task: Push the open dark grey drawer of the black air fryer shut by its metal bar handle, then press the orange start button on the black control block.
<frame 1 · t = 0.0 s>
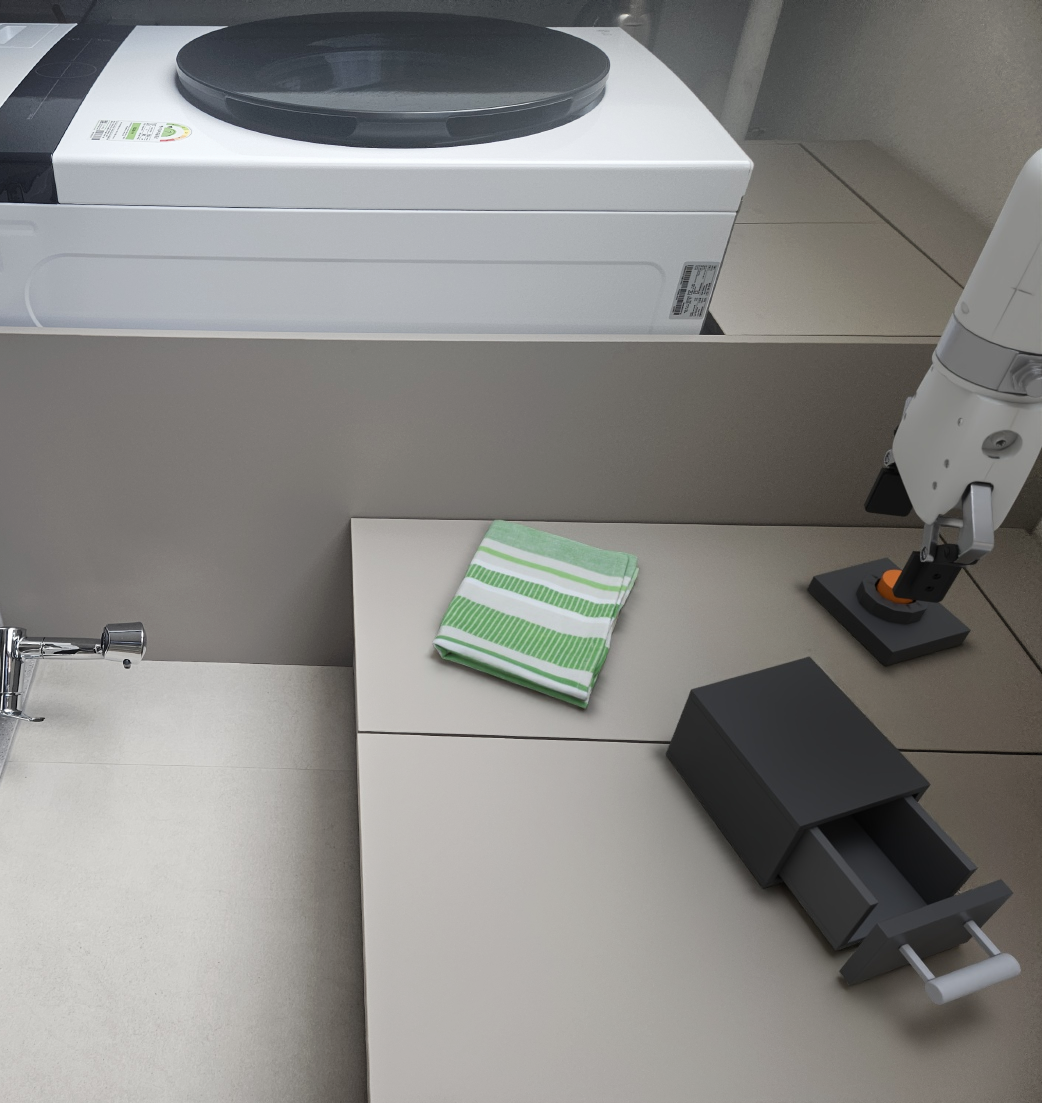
hand: (899, 552, 72), 27 cm above the worktop, tool pointing down, fingers open, 9 cm apart
dark grey drawer: (885, 886, 76), point 5 cm above the worktop, slide at 8.0 cm
air fryer: (770, 798, 88), on the worktop
control block: (882, 616, 105), on the worktop
start button: (898, 586, 102), point 4 cm above the worktop, slide at 0.1 cm
dish towel: (535, 613, 106), on the worktop
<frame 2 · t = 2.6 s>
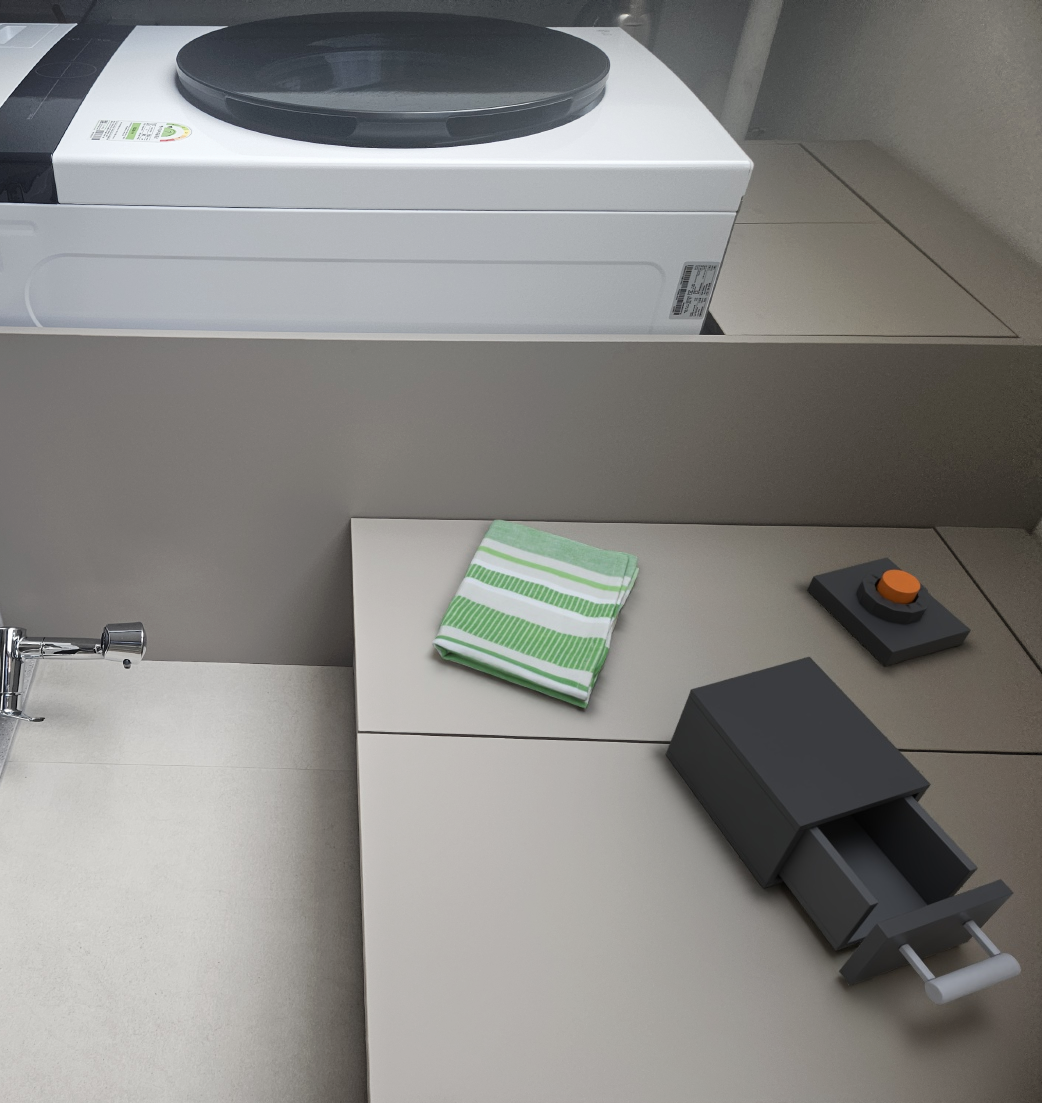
nothing on the worktop moved.
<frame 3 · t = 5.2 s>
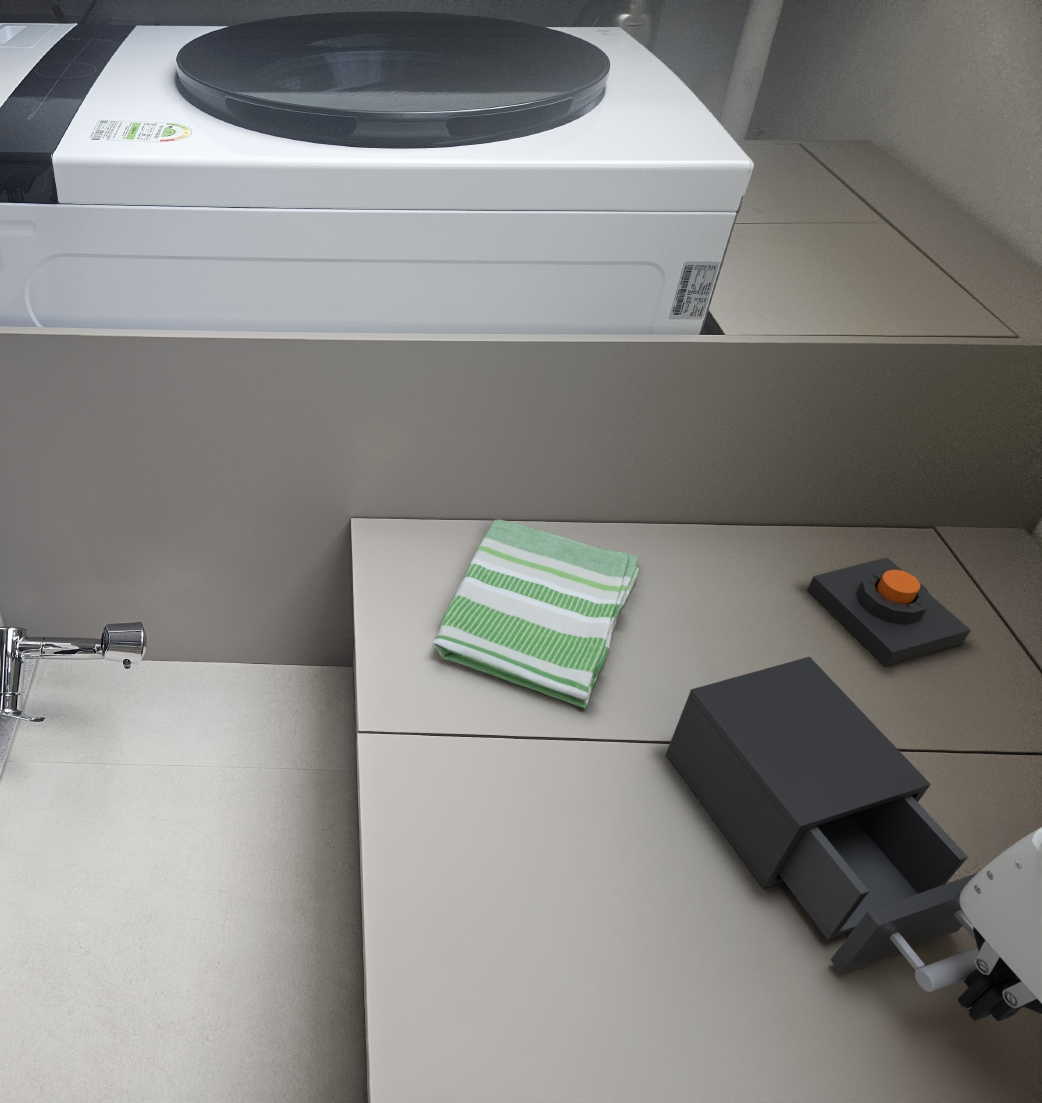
hand: (981, 1004, 69), 5 cm above the worktop, tool pointing down, fingers closed
dark grey drawer: (877, 876, 77), point 5 cm above the worktop, slide at 7.0 cm, touching gripper
everything else where it was.
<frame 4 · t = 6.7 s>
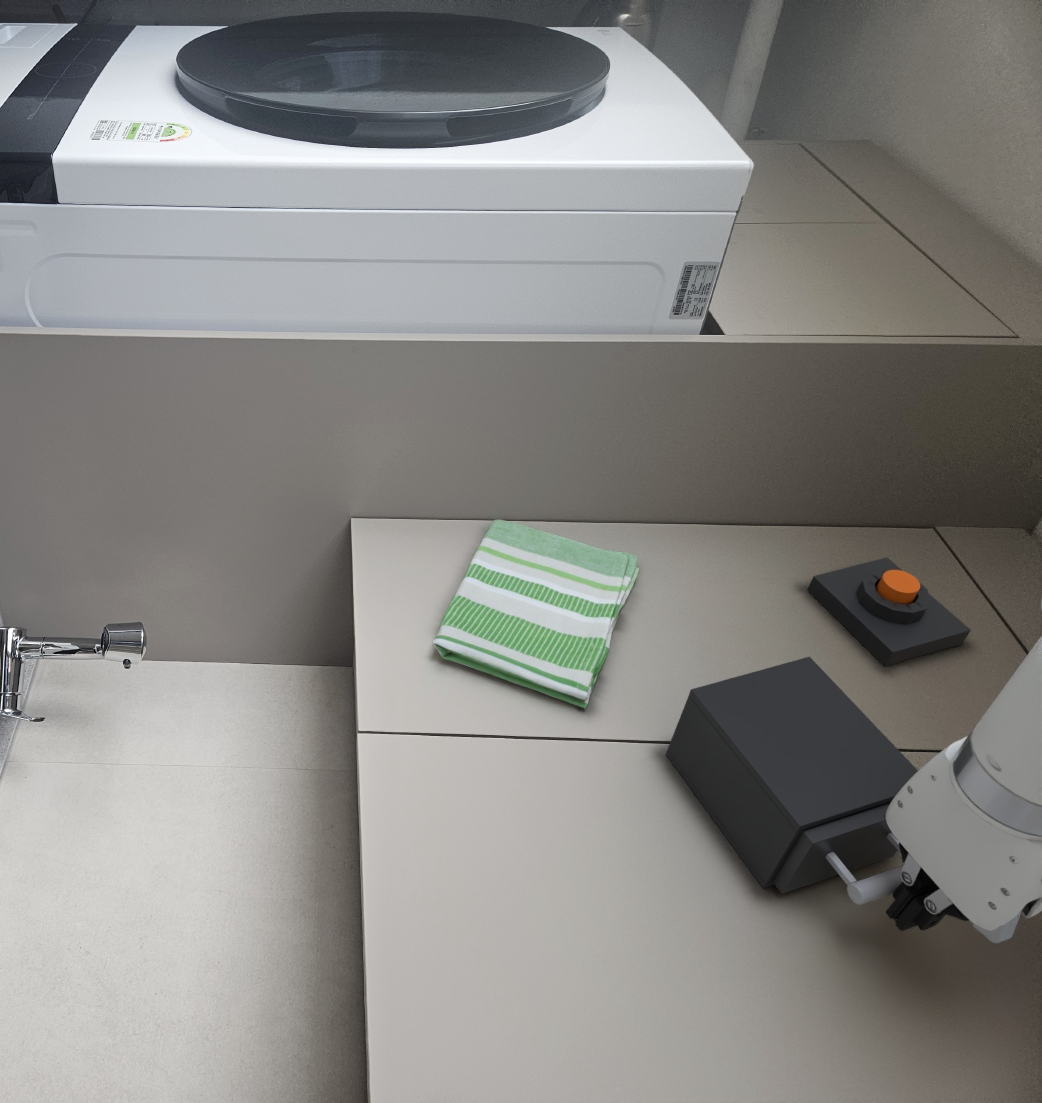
hand: (908, 916, 74), 5 cm above the worktop, tool pointing down, fingers closed
dark grey drawer: (817, 804, 82), point 5 cm above the worktop, slide at 0.0 cm, touching air fryer, gripper
everything else where it was.
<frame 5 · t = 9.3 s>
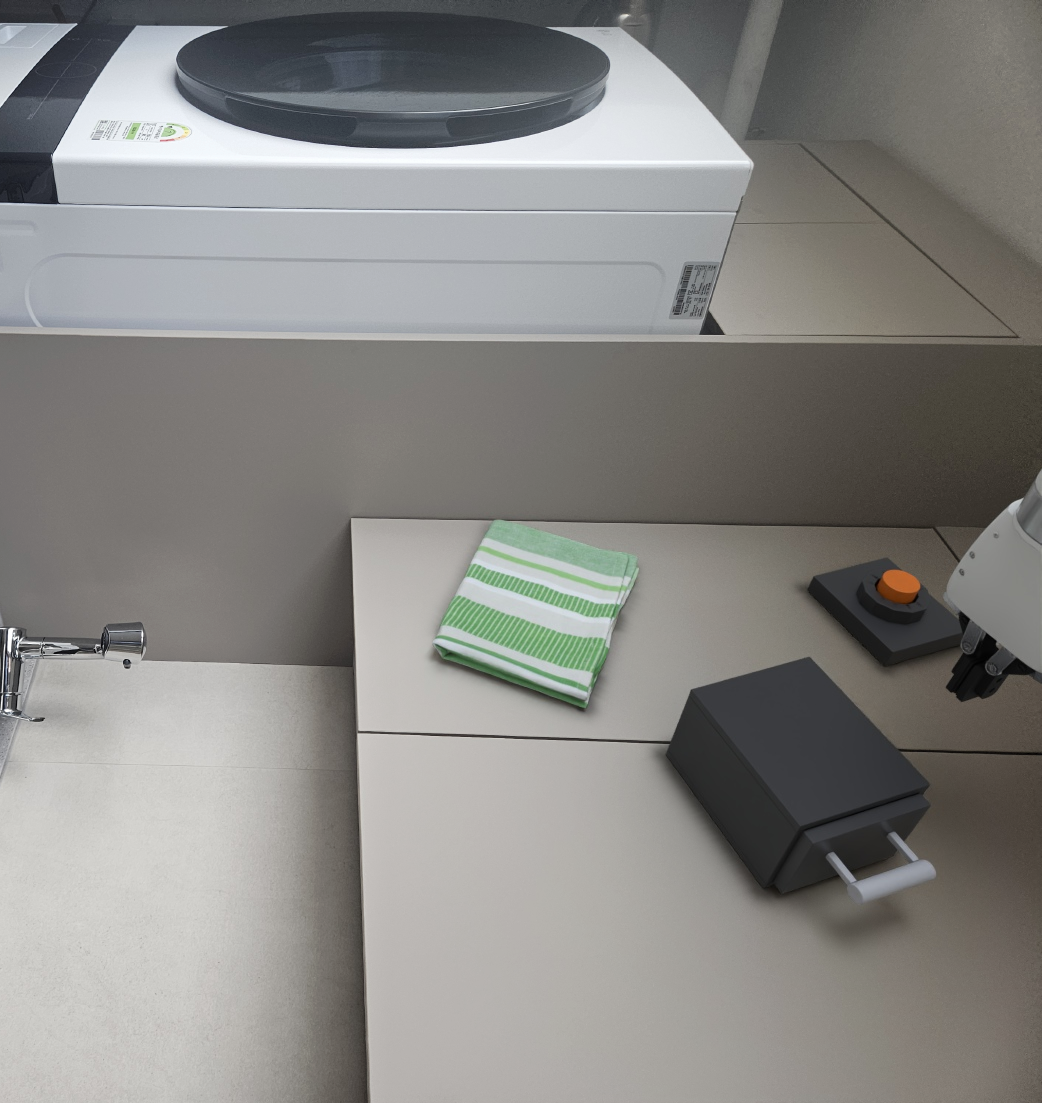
hand: (967, 690, 79), 14 cm above the worktop, tool pointing down, fingers closed
dark grey drawer: (817, 804, 82), point 5 cm above the worktop, slide at 0.0 cm, touching air fryer
everything else where it was.
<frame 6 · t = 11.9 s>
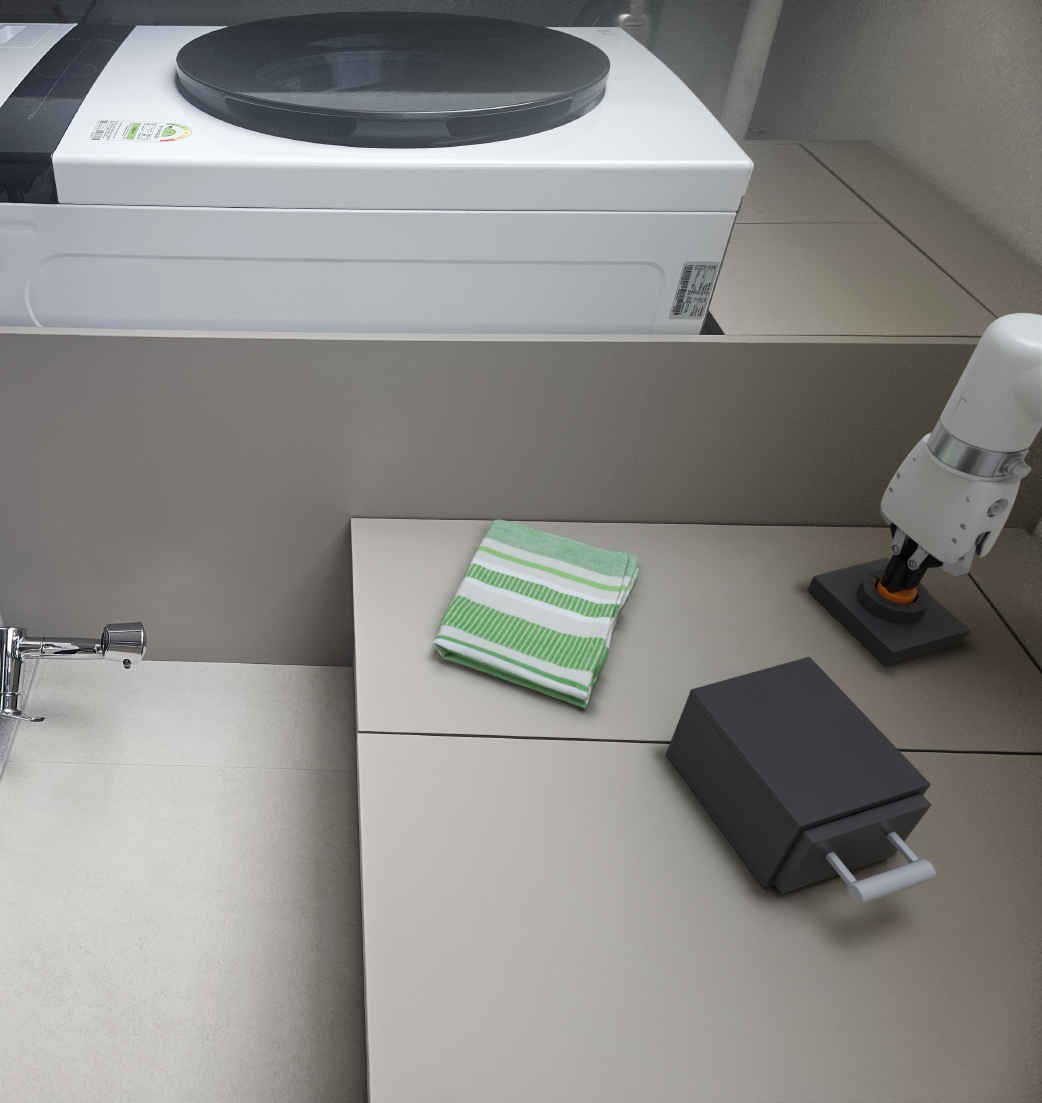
hand: (896, 585, 102), 5 cm above the worktop, tool pointing down, fingers closed
start button: (895, 592, 102), point 4 cm above the worktop, slide at -0.7 cm, touching gripper
everything else where it was.
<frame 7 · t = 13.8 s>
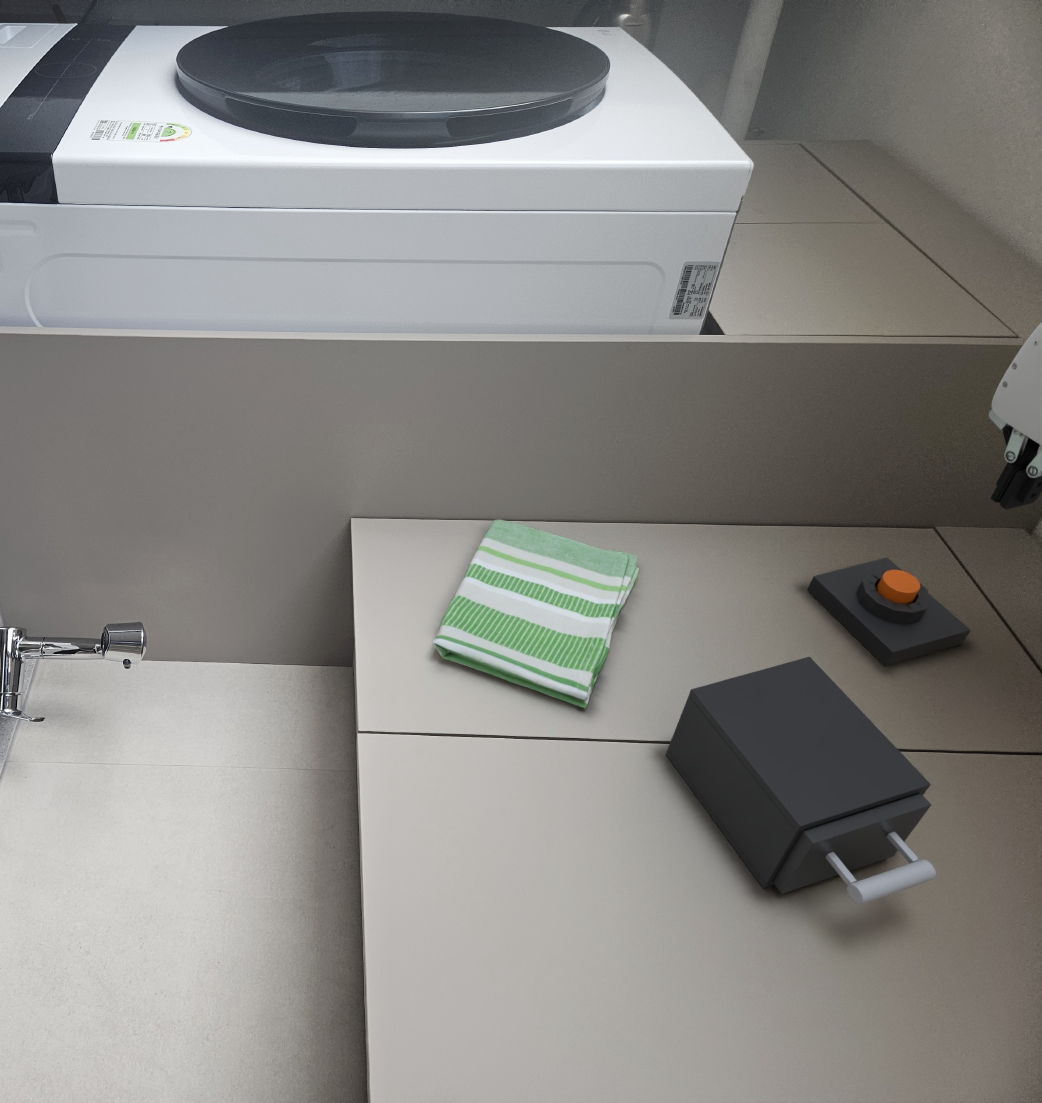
hand: (1010, 501, 87), 20 cm above the worktop, tool pointing down, fingers closed
start button: (898, 586, 102), point 4 cm above the worktop, slide at 0.1 cm
everything else where it was.
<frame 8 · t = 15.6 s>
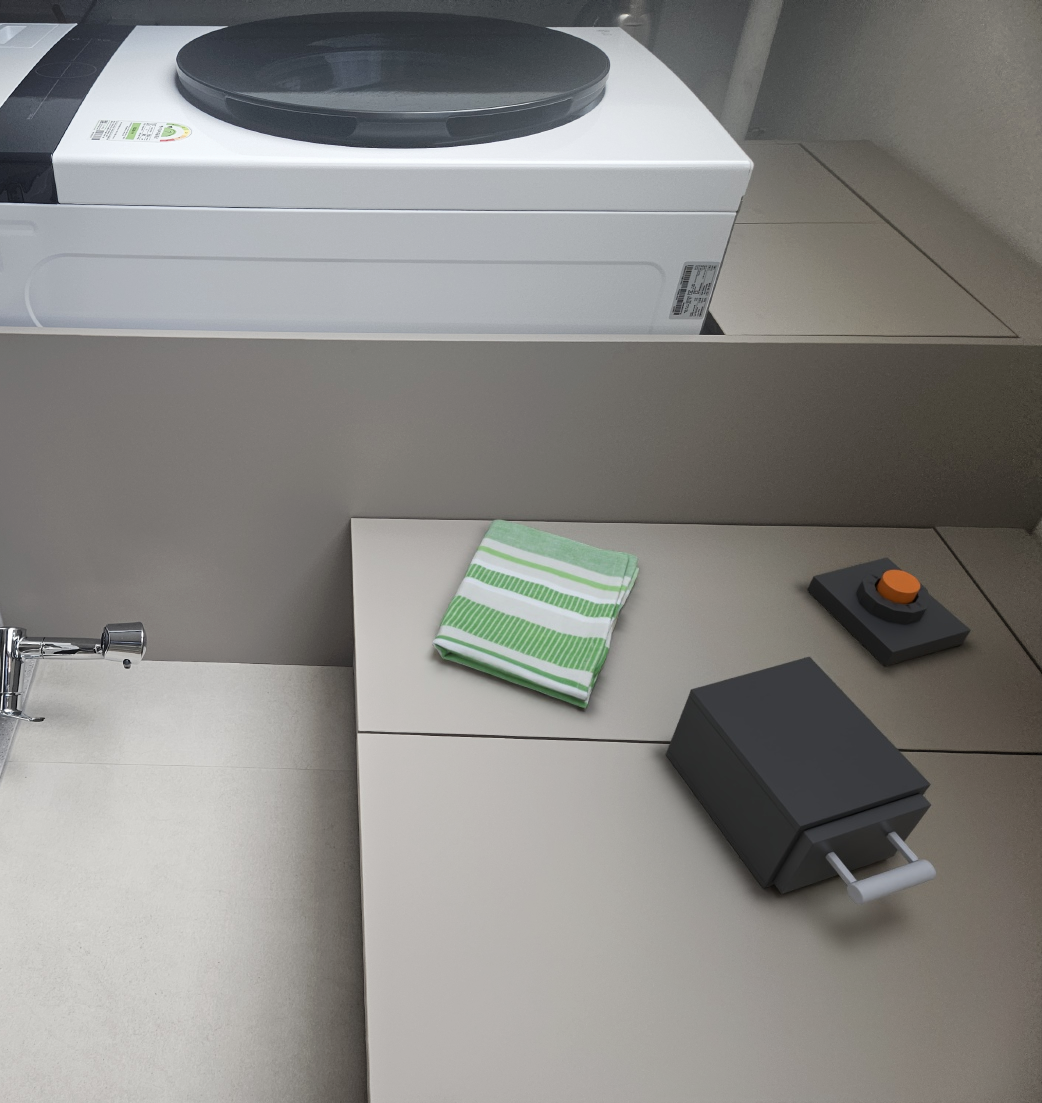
nothing on the worktop moved.
at the end: dark grey drawer slide at 0.0 cm; start button pushed in 1.0 cm at the most during the clip, back to where it started at the end; start button slide at 0.1 cm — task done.
